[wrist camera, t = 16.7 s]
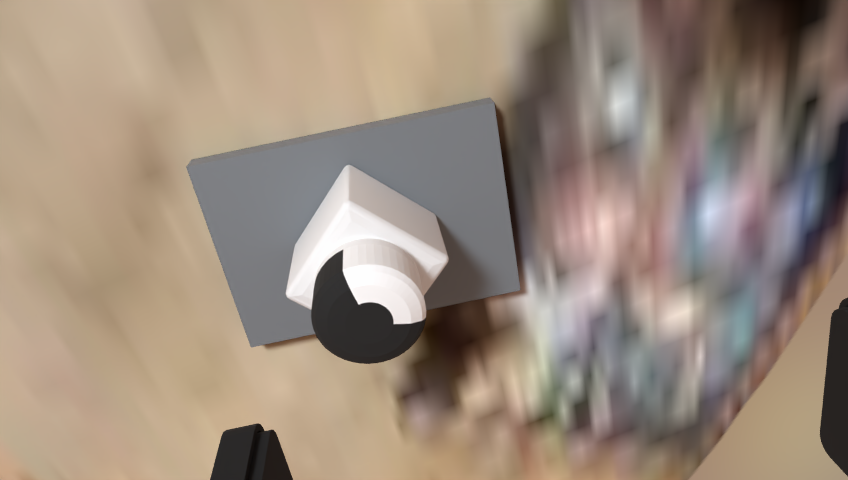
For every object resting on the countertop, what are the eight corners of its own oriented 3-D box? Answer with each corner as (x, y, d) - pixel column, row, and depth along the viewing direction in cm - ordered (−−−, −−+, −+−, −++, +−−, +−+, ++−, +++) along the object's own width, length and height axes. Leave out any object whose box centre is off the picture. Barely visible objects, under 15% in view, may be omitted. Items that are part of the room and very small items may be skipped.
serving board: (489, 97, 43) (494, 102, 42) (515, 280, 49) (520, 290, 48) (191, 159, 43) (186, 167, 42) (253, 336, 49) (250, 347, 48)
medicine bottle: (381, 293, 47) (390, 399, 36) (292, 246, 45) (273, 344, 34) (437, 214, 45) (465, 301, 34) (347, 161, 43) (345, 236, 32)
